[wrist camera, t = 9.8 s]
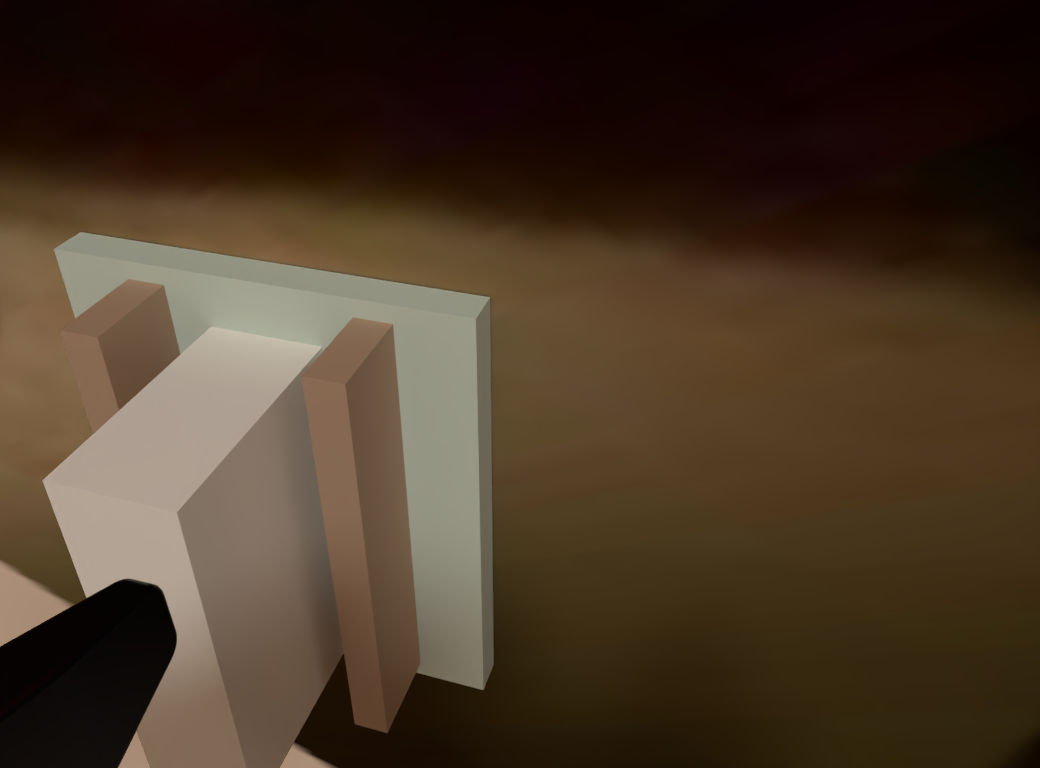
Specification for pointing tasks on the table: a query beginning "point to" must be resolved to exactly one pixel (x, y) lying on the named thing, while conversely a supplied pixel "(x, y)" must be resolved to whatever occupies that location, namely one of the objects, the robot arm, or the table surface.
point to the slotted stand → (335, 432)
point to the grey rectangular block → (215, 545)
